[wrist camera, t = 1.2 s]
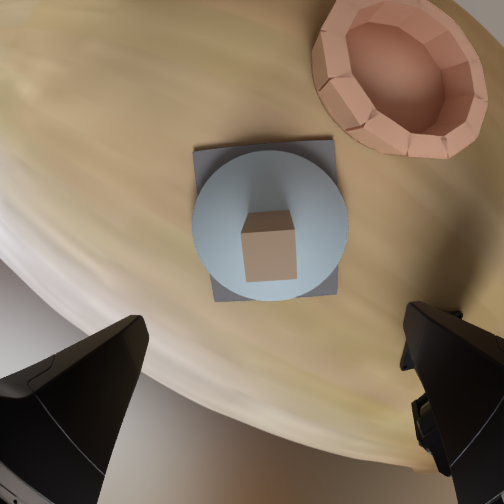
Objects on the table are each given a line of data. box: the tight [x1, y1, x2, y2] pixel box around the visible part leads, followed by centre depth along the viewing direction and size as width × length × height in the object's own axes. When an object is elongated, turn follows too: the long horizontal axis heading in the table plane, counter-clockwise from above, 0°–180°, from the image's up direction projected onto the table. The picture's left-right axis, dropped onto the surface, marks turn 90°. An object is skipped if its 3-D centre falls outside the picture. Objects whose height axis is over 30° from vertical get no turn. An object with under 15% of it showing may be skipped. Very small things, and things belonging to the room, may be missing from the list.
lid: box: [192, 150, 348, 301], centre depth 18 cm, size 11×11×6 cm
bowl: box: [311, 0, 488, 159], centre depth 14 cm, size 12×12×5 cm
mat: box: [193, 140, 338, 302], centre depth 21 cm, size 12×10×1 cm
